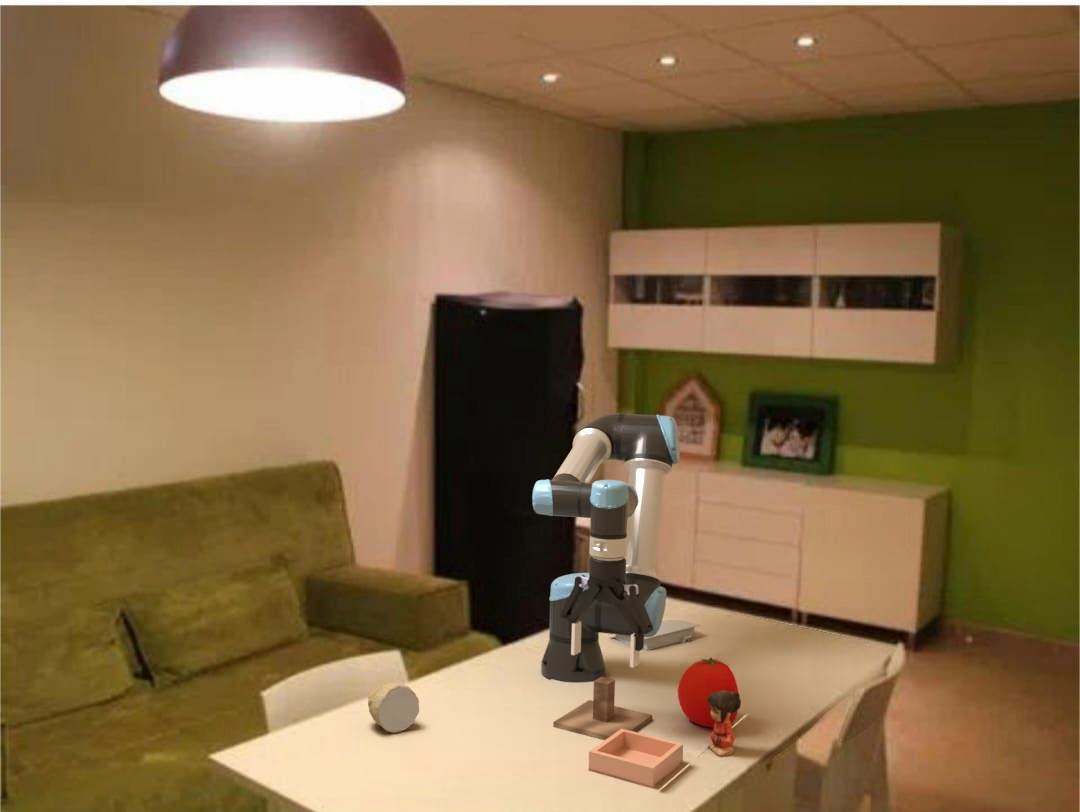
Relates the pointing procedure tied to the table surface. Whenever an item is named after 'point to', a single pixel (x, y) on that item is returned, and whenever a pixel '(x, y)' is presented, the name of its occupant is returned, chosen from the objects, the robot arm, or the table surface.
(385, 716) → the cream grey rounded piece
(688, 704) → the tomato
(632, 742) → the dish
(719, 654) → the table surface
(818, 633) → the table surface
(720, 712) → the figurine
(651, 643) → the book
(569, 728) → the lid
